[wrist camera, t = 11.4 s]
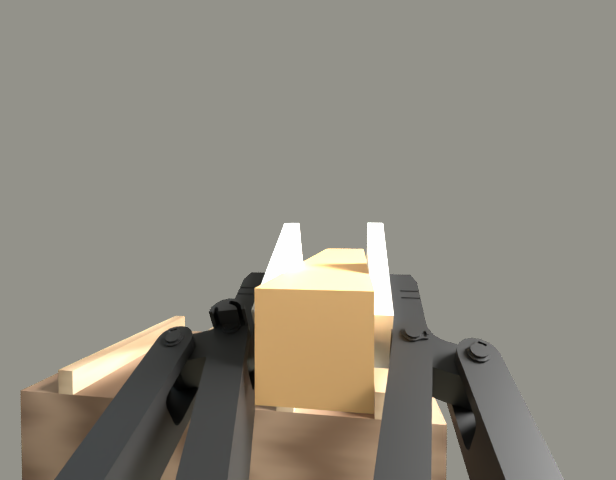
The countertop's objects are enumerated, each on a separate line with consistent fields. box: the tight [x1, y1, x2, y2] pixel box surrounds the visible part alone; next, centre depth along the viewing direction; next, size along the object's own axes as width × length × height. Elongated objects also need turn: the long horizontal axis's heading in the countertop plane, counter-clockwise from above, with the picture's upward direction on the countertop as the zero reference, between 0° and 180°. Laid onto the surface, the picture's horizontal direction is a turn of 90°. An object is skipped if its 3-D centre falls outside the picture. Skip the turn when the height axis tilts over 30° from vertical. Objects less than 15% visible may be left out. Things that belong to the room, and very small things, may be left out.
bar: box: [255, 249, 375, 414], centre depth 22 cm, size 4×24×4 cm, turn 172°
